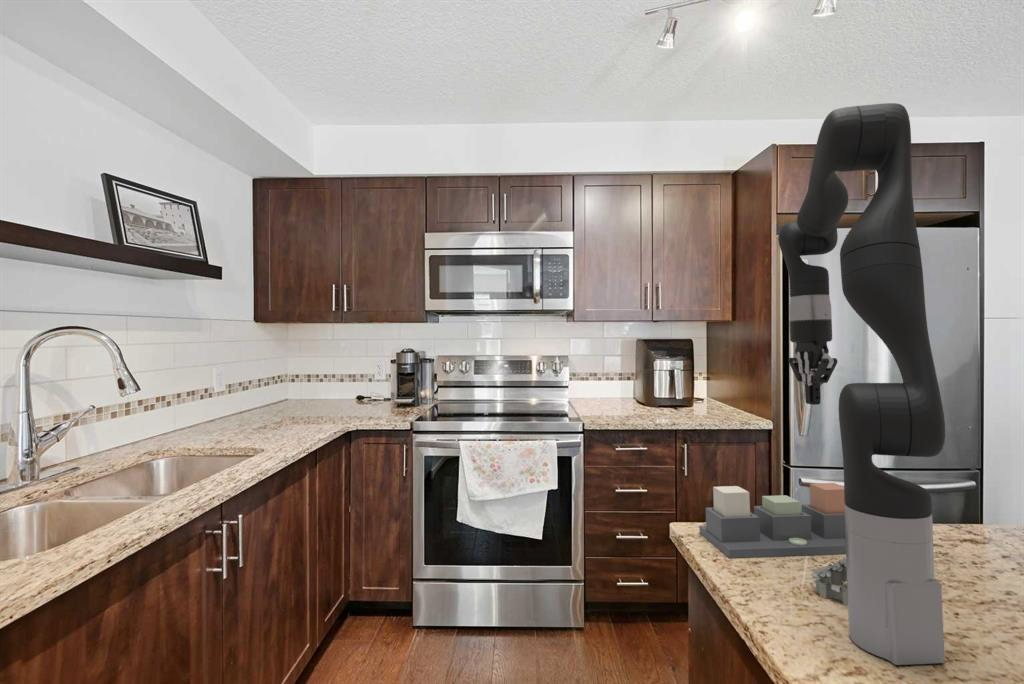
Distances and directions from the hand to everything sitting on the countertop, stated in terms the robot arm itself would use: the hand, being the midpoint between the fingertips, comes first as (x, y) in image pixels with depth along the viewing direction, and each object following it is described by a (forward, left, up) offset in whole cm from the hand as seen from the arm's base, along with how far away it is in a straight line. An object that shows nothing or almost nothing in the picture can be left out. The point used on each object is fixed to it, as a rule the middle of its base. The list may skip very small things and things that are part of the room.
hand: (812, 404), depth 109 cm
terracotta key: (-2, -2, -22) cm, 22 cm away
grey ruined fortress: (-24, +10, -27) cm, 38 cm away
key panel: (-2, +8, -27) cm, 28 cm away
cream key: (-2, +18, -22) cm, 29 cm away
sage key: (-2, +8, -24) cm, 26 cm away
